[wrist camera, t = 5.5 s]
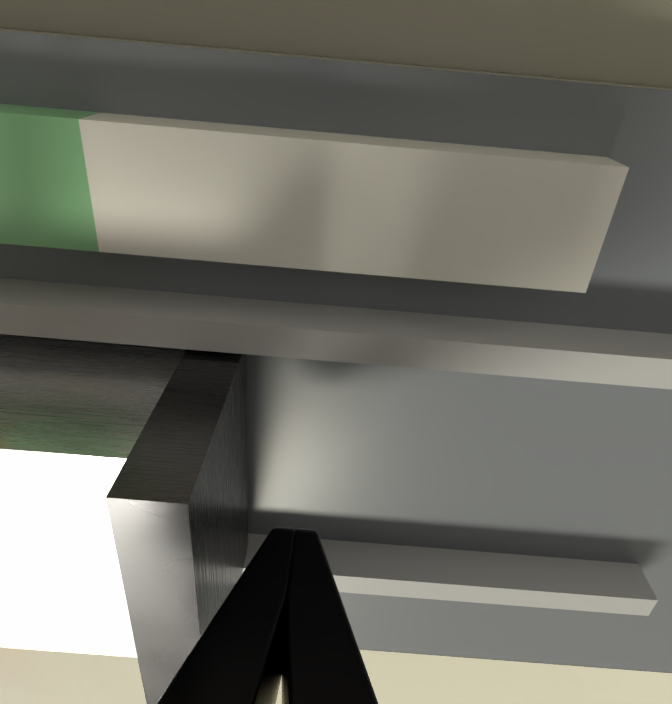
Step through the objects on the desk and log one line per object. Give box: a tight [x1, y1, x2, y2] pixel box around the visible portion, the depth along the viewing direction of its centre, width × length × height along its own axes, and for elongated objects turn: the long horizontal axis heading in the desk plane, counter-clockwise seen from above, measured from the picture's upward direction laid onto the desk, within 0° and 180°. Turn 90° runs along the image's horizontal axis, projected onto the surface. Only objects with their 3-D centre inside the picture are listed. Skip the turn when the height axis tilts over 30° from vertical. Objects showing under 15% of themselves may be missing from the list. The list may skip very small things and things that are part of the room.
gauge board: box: [0, 28, 672, 673], centre depth 10 cm, size 24×15×5 cm, turn 85°
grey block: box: [0, 335, 248, 704], centre depth 9 cm, size 7×10×4 cm
